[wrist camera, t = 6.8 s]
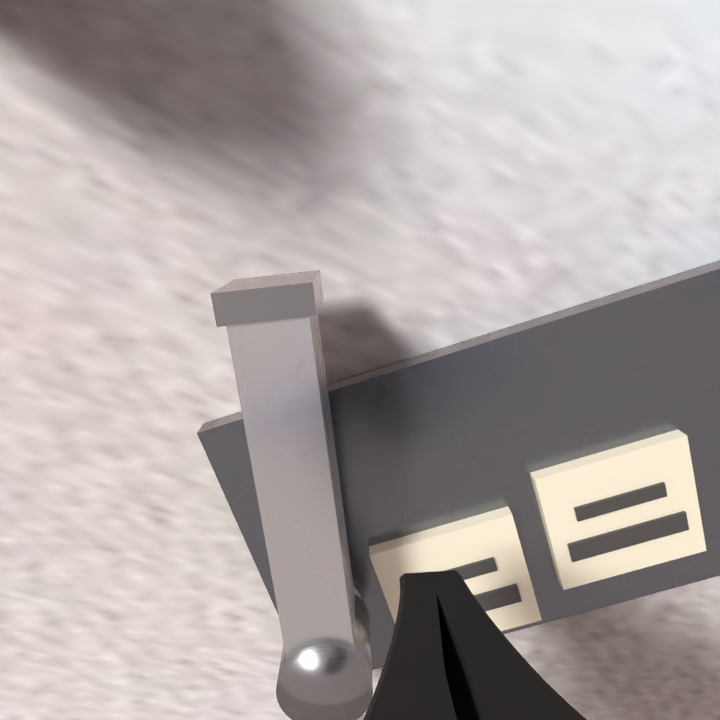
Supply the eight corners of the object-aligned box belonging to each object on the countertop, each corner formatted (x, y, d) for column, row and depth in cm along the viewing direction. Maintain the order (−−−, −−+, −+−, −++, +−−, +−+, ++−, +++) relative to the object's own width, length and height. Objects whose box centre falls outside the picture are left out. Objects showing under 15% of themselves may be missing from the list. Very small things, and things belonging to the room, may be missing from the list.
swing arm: (373, 651, 18) (377, 727, 16) (294, 659, 18) (284, 736, 16) (326, 269, 15) (320, 282, 12) (227, 280, 15) (199, 295, 12)
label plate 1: (507, 506, 18) (513, 516, 17) (537, 609, 19) (542, 622, 19) (368, 546, 18) (369, 557, 18) (405, 645, 19) (407, 659, 19)
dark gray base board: (734, 255, 16) (768, 259, 15) (770, 542, 19) (801, 567, 18) (203, 423, 18) (191, 440, 16) (311, 668, 21) (309, 700, 19)
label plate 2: (677, 429, 17) (689, 436, 17) (697, 542, 18) (708, 552, 18) (529, 472, 18) (535, 481, 17) (558, 580, 19) (564, 592, 18)
